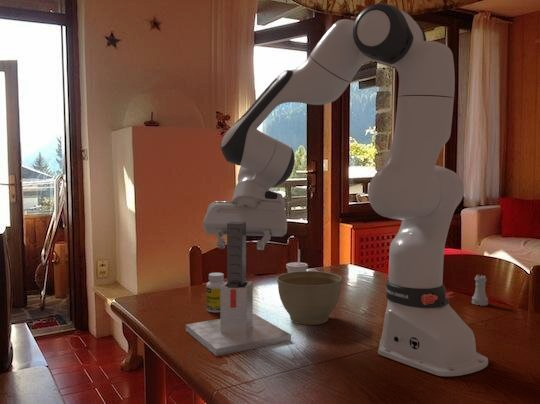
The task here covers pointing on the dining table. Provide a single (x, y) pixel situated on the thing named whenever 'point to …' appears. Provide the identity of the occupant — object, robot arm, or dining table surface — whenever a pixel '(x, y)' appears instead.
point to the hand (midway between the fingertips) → (240, 247)
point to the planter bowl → (309, 295)
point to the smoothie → (296, 265)
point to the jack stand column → (236, 253)
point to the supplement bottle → (214, 292)
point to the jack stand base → (236, 324)
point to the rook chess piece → (480, 291)
